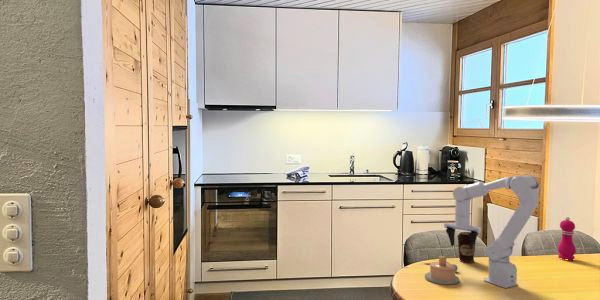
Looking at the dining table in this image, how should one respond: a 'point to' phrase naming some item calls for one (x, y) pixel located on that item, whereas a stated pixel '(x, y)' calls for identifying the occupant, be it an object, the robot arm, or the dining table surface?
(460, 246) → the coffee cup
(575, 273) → the dining table surface
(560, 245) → the pepper mill
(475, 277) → the dining table surface
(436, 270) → the lid with knob
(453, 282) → the slate plate
